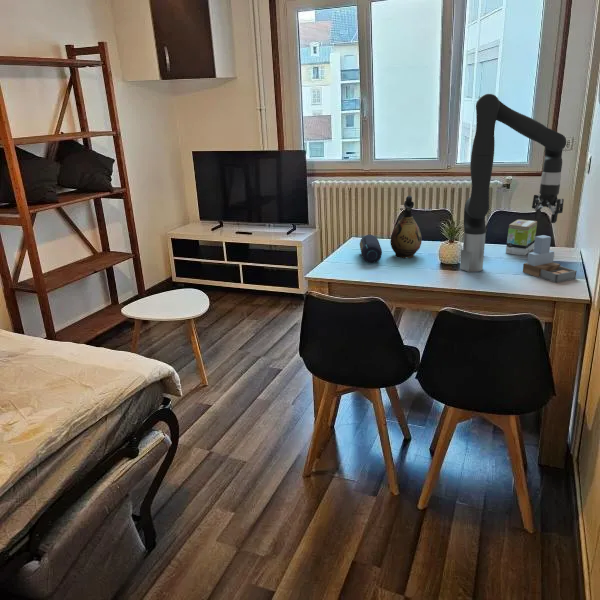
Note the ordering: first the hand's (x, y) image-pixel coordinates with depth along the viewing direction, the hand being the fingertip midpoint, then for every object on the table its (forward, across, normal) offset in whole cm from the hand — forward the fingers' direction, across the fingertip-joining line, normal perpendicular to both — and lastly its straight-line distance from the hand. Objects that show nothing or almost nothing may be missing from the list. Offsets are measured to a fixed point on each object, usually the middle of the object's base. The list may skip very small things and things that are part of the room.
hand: (545, 220), depth 227 cm
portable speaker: (+24, -59, -52) cm, 82 cm away
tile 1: (+20, +11, -2) cm, 23 cm away
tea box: (+23, -30, +18) cm, 42 cm away
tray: (+23, +10, 0) cm, 25 cm away
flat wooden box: (+23, +1, 0) cm, 23 cm away
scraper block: (+19, 0, 0) cm, 19 cm away
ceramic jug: (+24, -53, -35) cm, 68 cm away
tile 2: (+20, +11, +3) cm, 23 cm away
